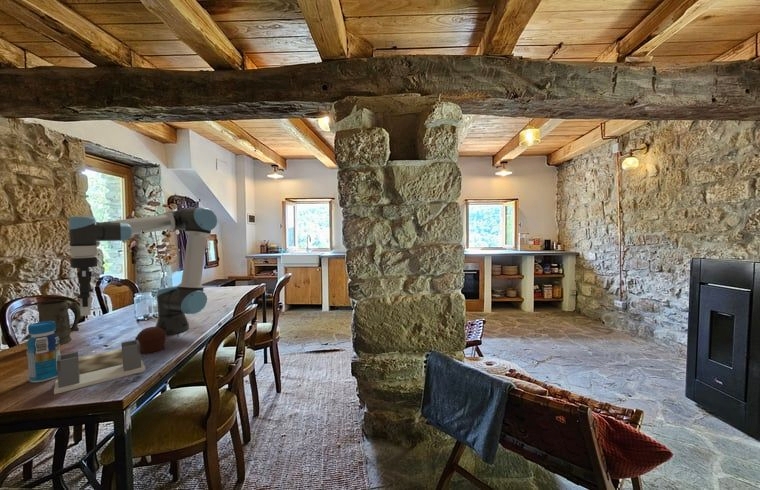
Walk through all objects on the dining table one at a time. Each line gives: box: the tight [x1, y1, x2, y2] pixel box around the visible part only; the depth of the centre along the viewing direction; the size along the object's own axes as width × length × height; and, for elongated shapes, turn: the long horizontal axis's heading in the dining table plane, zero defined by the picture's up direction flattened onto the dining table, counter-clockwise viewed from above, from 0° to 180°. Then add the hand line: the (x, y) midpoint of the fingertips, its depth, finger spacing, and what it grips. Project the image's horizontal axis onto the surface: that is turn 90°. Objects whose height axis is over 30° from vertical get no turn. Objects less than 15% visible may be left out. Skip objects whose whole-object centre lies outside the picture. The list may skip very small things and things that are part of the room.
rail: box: [78, 348, 123, 374], centre depth 124 cm, size 17×4×5 cm, turn 133°
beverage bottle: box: [25, 321, 61, 383], centre depth 115 cm, size 8×8×20 cm
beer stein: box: [36, 300, 82, 346], centre depth 152 cm, size 15×11×20 cm
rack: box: [53, 339, 146, 395], centre depth 115 cm, size 24×10×10 cm, turn 133°
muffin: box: [134, 326, 167, 355], centre depth 139 cm, size 12×11×10 cm
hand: (86, 312), depth 123 cm, fingers open, 13 cm apart
